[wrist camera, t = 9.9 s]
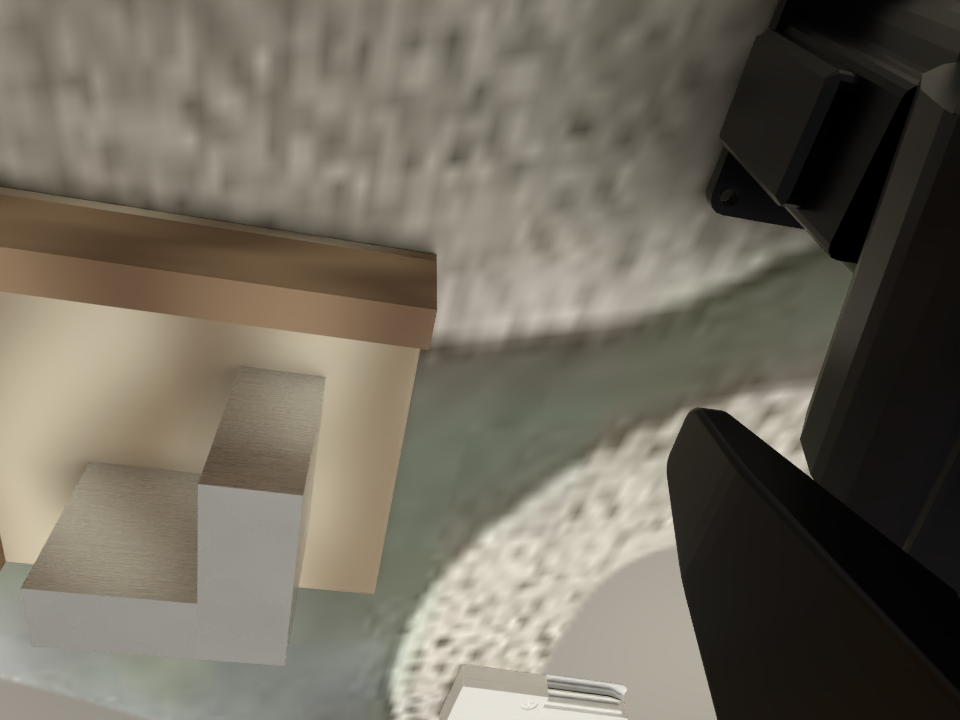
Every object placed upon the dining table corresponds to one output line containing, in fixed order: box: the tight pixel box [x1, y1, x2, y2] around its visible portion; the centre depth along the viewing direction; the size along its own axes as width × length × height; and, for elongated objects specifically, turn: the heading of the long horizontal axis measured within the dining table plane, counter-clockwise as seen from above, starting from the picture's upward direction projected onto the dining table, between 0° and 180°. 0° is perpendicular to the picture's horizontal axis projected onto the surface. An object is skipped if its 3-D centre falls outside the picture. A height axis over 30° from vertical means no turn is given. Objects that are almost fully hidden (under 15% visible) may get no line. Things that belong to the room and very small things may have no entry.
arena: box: [0, 187, 437, 594], centre depth 23 cm, size 14×14×3 cm
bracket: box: [21, 366, 326, 666], centre depth 23 cm, size 7×7×5 cm
